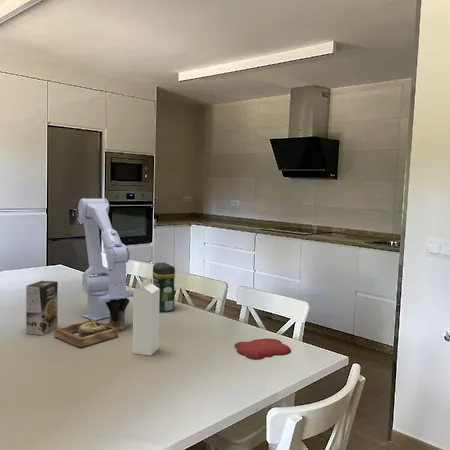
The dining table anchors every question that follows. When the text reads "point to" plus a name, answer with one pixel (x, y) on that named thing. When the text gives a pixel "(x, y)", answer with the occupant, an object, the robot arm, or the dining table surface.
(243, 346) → the red lobed slab
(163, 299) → the coffee jar
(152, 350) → the milk
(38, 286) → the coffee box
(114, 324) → the pull frame
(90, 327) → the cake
